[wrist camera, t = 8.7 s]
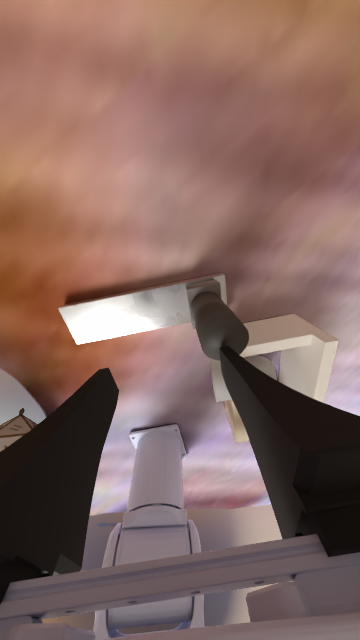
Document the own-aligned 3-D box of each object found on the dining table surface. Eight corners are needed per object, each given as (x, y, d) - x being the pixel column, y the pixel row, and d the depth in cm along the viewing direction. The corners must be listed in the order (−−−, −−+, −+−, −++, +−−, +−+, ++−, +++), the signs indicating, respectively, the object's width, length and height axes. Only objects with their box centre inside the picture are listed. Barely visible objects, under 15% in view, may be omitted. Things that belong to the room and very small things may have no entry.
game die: (51, 392, 28) (46, 425, 20) (56, 441, 29) (54, 493, 21) (-31, 414, 23) (-83, 469, 15) (-22, 472, 24) (-68, 556, 16)
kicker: (229, 391, 25) (258, 463, 17) (204, 396, 25) (221, 469, 17) (219, 275, 18) (261, 304, 10) (184, 282, 18) (196, 317, 10)
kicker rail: (224, 310, 20) (227, 315, 19) (82, 338, 20) (77, 344, 19) (221, 272, 18) (224, 274, 17) (64, 304, 18) (57, 308, 17)
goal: (285, 392, 26) (315, 433, 21) (225, 403, 26) (240, 446, 21) (293, 313, 20) (339, 340, 15) (217, 328, 21) (235, 359, 15)
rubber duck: (275, 357, 23) (323, 410, 16) (245, 389, 25) (275, 449, 18) (244, 341, 22) (281, 392, 15) (215, 377, 24) (235, 436, 17)
